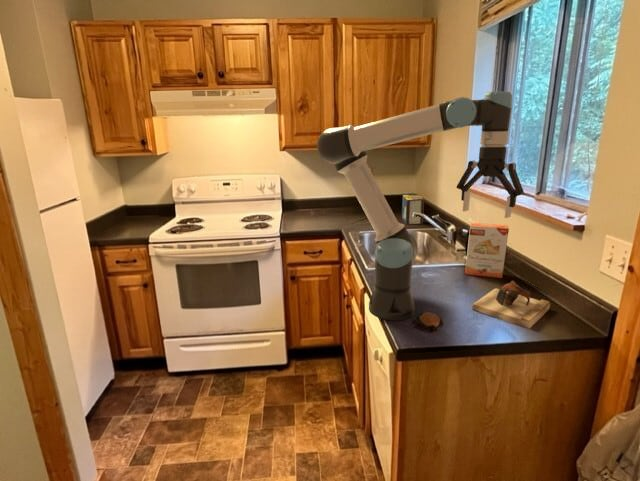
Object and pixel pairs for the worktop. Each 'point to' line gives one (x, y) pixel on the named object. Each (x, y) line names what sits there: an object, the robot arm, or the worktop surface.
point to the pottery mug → (512, 293)
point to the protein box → (412, 209)
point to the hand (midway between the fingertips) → (485, 213)
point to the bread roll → (427, 322)
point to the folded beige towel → (512, 309)
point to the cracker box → (486, 249)
